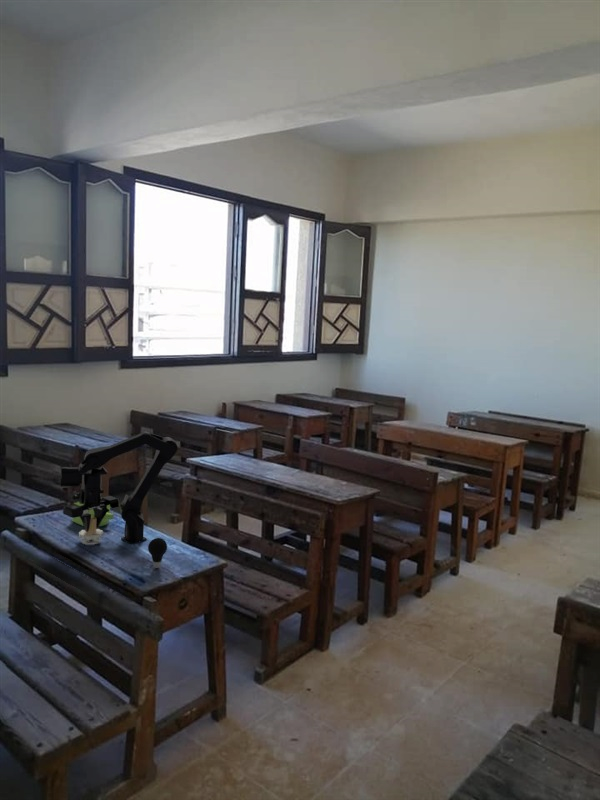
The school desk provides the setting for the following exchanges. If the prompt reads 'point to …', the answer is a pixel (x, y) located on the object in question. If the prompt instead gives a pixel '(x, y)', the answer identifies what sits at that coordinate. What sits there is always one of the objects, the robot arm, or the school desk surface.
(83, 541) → the disc
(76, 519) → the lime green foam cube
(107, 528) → the school desk surface
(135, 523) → the robot arm
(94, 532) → the gear
